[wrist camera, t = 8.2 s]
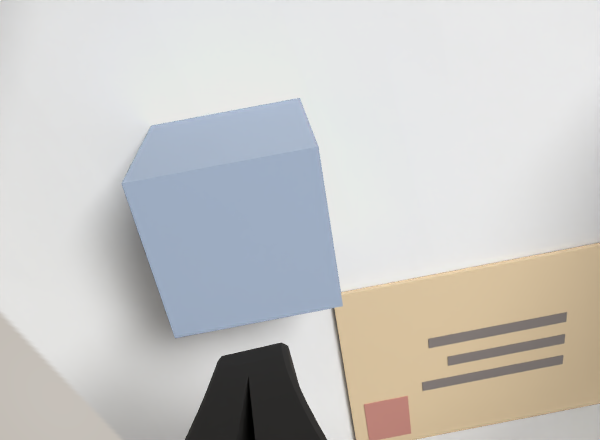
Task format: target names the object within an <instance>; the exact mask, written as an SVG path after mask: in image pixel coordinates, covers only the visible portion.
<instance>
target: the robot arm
mask: <svg viewBox="0 0 600 440" xmlns="http://www.w3.org/2000/svg"><path fill="white" fill-rule="evenodd" d="M185 440H327V439H326V437H325V435H324V433H323V432H322V430H321V428H320V426H319V425H318V423H317V421H316V419H315V417H314V415H313V413H312V411H311V410H310V408H309V406H308V404H307V402H306V400H305V398H304V396H303V393H302V391H301V389H300V387H299V383H298V380H297V376H296V373H295V369H294V365H293V362H292V358H291V355H290V351H289V348H288V346H287V345H285V344H283V343H278V344H273V345H269V346H265V347H260V348H256V349H251V350H247V351H243V352H238V353H234V354H229V355H225V356H221V358H220V359H219V361H218V362H217V365H216V367H215V370H214V373H213V376H212V378H211V381H210V383H209V386H208V388H207V391H206V393H205V396H204V398H203V401H202V403H201V405H200V408H199V410H198V412H197V415H196V417H195V419H194V421H193V423H192V426H191V428H190V430H189V432H188V434H187V436H186V439H185Z"/></svg>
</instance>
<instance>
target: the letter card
mask: <svg viewBox="0 0 600 440" xmlns="http://www.w3.org/2000/svg"><path fill="white" fill-rule="evenodd" d="M341 297H342V303H343V306H341V307H336V308H334V309H335V316H336V322H337V328H338V334H339V340H340V346H341V352H342V358H343V364H344V370H345V376H346V382H347V389H348V395H349V401H350V407H351V413H352V419H353V425H354V431H355V437H356V440H415V439H420V438H425V437H430V436H435V435H441V434H446V433H451V432H456V431H461V430H466V429H471V428H476V427H482V426H487V425H492V424H497V423H502V422H507V421H512V420H517V419H523V418H528V417H533V416H538V415H543V414H548V413H553V412H559V411H564V410H569V409H574V408H579V407H584V406H589V405H594V404H600V243H596V244H591V245H586V246H580V247H575V248H570V249H565V250H560V251H554V252H549V253H544V254H539V255H533V256H528V257H523V258H518V259H513V260H507V261H502V262H497V263H492V264H486V265H481V266H476V267H471V268H466V269H460V270H455V271H450V272H445V273H439V274H434V275H429V276H424V277H419V278H413V279H408V280H403V281H398V282H392V283H387V284H382V285H377V286H372V287H366V288H361V289H356V290H351V291H346V292H341Z"/></svg>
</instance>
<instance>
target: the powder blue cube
mask: <svg viewBox="0 0 600 440" xmlns="http://www.w3.org/2000/svg"><path fill="white" fill-rule="evenodd" d="M122 186H123V189H124V192H125V195H126V198H127V201H128V203H129V206H130V209H131V212H132V215H133V218H134V221H135V224H136V227H137V230H138V232H139V235H140V238H141V241H142V244H143V247H144V250H145V253H146V256H147V258H148V261H149V264H150V267H151V270H152V273H153V276H154V279H155V282H156V285H157V287H158V290H159V293H160V296H161V299H162V302H163V305H164V308H165V311H166V313H167V316H168V319H169V322H170V325H171V328H172V331H173V334H174V337H175V338H179V337H185V336H190V335H195V334H200V333H205V332H211V331H216V330H221V329H226V328H231V327H237V326H242V325H247V324H252V323H258V322H263V321H268V320H273V319H278V318H284V317H289V316H294V315H299V314H305V313H310V312H315V311H320V310H325V309H331V308H336V307H341V306H343V303H342V297H341V290H340V284H339V277H338V271H337V264H336V258H335V251H334V245H333V238H332V232H331V225H330V219H329V212H328V206H327V199H326V193H325V186H324V180H323V173H322V167H321V161H320V154H319V148H318V144H317V142H316V139H315V137H314V134H313V131H312V129H311V126H310V124H309V121H308V118H307V116H306V113H305V111H304V108H303V105H302V103H301V100H300V98H297V99H292V100H286V101H281V102H276V103H270V104H265V105H259V106H254V107H249V108H243V109H238V110H233V111H227V112H222V113H217V114H211V115H206V116H201V117H195V118H190V119H185V120H179V121H174V122H169V123H163V124H158V125H152V126H151V127H150V129H149V131H148V133H147V135H146V137H145V139H144V141H143V143H142V145H141V147H140V149H139V151H138V152H137V154H136V156H135V158H134V160H133V162H132V164H131V166H130V168H129V170H128V172H127V174H126V176H125V178H124V180H123V182H122Z"/></svg>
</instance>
